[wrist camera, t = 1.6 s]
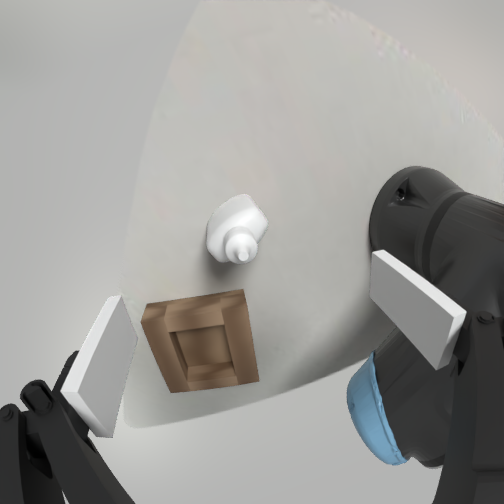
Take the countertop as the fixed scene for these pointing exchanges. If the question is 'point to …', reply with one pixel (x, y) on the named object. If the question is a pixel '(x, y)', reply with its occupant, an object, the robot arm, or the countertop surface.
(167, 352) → the walnut bottle stand
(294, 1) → the countertop surface
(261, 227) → the eye dropper bottle
